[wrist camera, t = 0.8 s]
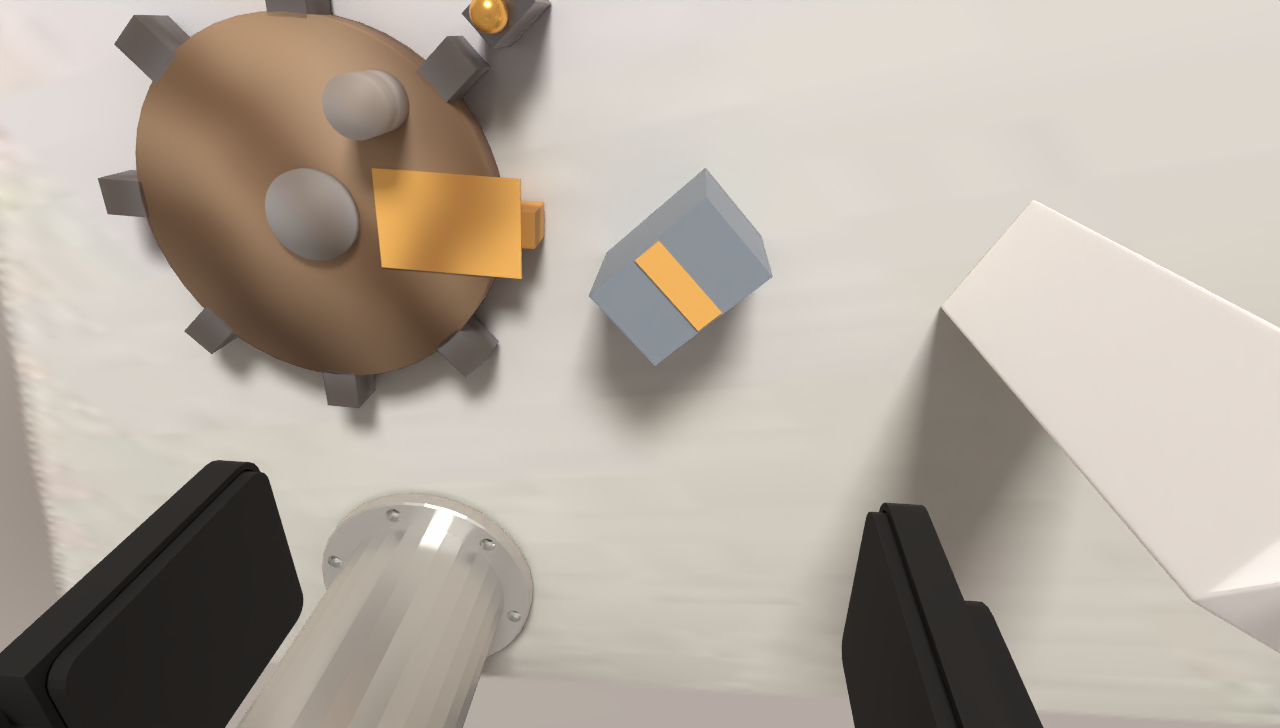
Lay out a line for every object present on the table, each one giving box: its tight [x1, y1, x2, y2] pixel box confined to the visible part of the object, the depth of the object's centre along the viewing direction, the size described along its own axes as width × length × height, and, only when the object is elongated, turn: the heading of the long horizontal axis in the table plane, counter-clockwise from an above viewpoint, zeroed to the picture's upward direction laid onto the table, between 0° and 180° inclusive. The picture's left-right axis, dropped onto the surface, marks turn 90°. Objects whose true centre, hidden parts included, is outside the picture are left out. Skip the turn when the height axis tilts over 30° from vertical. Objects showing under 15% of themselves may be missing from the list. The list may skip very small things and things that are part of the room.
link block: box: [589, 168, 773, 366], centre depth 30 cm, size 6×4×6 cm, turn 131°
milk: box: [941, 201, 1280, 653], centre depth 22 cm, size 6×6×22 cm
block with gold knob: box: [462, 0, 551, 48], centre depth 27 cm, size 2×2×4 cm
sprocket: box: [98, 0, 544, 408], centre depth 31 cm, size 20×20×4 cm
